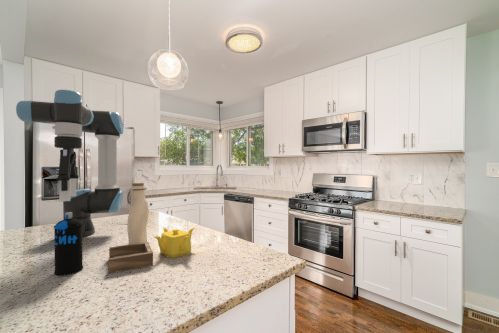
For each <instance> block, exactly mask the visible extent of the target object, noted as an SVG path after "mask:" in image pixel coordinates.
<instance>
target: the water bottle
mask: <svg viewBox="0 0 499 333" xmlns="http://www.w3.org/2000/svg"><path fill="white" fill-rule="evenodd" d="M131 184H132V185H131V188H129V189H126V207H127V208H128V216H127V224H126V226H127V227H126V228H127V229H126V230H127V236H128V245H130V244H137V243H144V242H148V236H147V234H148V232H147V225H148V220H149V214H150V213H149V212H150V211H149V210H150V209H149V208H150V207H149V203H148V201H147V199H146V190H147V189H148V188H147V187H146V186H145V183H144V182H132V183H131Z"/></svg>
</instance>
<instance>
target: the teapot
mask: <svg viewBox="0 0 499 333" xmlns="http://www.w3.org/2000/svg"><path fill="white" fill-rule="evenodd" d="M195 229H196V228H195V227H192V228H190V229H189V230H188V232H187V231H184V230H181V229H178V228H173V229H172V230H168V228H166V227H163V231H164V232H161V235H160V236H159V235H155V236H153V238H154V239H156V240H157V244H158V247H159V250H160V251H159V252H160V253H161V254H162V255H163V254H164V256H165V257H167V256H168V258H169V257H170V259H176V258H179V256H180V257H183V256H186V255H188V253H189V254H191V251H192V235H193V234H192V233H193V231H194V230H195ZM185 254H186V255H185ZM182 255H183V256H182Z"/></svg>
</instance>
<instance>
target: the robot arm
mask: <svg viewBox="0 0 499 333" xmlns="http://www.w3.org/2000/svg"><path fill="white" fill-rule="evenodd" d="M15 111H16V112H15V113H16V116H17V117H18V119H19V120H20V121H22V122H26V123H27V122H28V123H40V124H48V125H53V126H52V129H53V130H54V135H56V136H54V142H53V143H54V148H57V149H60V150H59V152H60V153H59V166H58V167H59V168H58V174H57V177H56V178H55V179H56V180H55V181H57V182H59V190H58V191H59V192H58V193H59V197H58V198H59V202H60V203H61V202H62V206H63V209H62V210H63V213H62V218H63V219H62V220H64V219H65V213H67V212H72V218H73V219H78V220H80V221H81V222H82V223H83V225H82V238H84V237H85V238H86V237H88V236H92V235H94V234H95V232H96V229H95V226H94V223H93V220H92V215H93V214H111V213H118V212H119V211H120V210H121V208H122V205H123V200H124V192H123V190H121V189H120V186H119V185H118V184H117V180H118V179H117V174H118V173H117V169H118V168H117V164H118V162H117V161H118V160H117V158H118V156H117V155H118V152H117V150H118V147H117V145H118V144H117V142H118V140H119V139H120V137H121V135H123V134H124V123H123V119H122V116H121V114H119V113H118V112H117V111H110V110H109V111H106V110H105V111H104V110H91V108H89V107H88V106H86V105H84V104H83V98H82V94H81V93H80V92H78V91H75V90H71V89H70V90H68V89H57V90H55V92H54V99H53V102H50V101H49V102H47V101H37V100H19V101H18V102H17V103H16V106H15ZM83 133H89V134H90V133H92V134H94V137H95V138H96V139H97V141H98V142H97V145H98V146H97V150H98V151H97V154H98V155H97V185H95V187H94V190H93V191H92V189H91V188H81V189H77V179H79V176H80V175H78V174H77V173H78V172H77V160H76V159H77V153H76V151H75V150H76V149H79V150H80V149H82V148H83V146H82V145H83V142H82V141H83V139H82V136H83ZM74 149H75V150H74Z"/></svg>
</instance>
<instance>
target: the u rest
mask: <svg viewBox="0 0 499 333" xmlns="http://www.w3.org/2000/svg"><path fill="white" fill-rule="evenodd" d="M108 249H109V252H108V253H109V255H108V257H109V258H108V274H113V273H117V272H123V271H129V270H134V269H139V268H144V267H149V266H154V251H153V250H152V247H151V245H150V242H149V241H147V242H144V243H137V244H130V245H129V244H123V245H117V246H110V247H109V248H108Z"/></svg>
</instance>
